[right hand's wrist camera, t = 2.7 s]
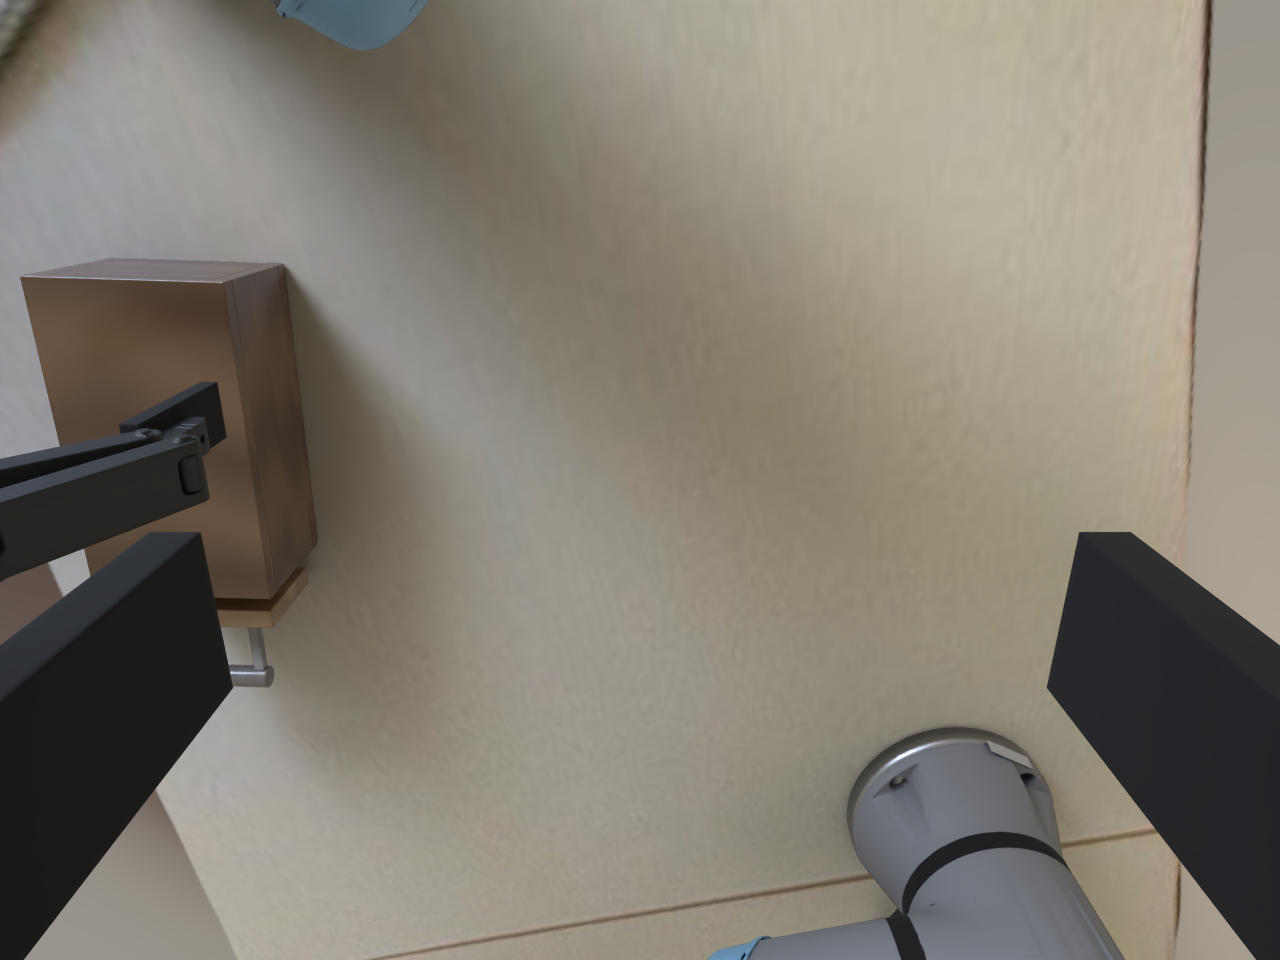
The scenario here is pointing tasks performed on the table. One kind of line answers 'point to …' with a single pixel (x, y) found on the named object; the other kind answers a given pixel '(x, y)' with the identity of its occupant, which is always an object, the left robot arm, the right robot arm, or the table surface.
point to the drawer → (258, 626)
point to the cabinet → (172, 362)
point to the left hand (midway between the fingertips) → (68, 406)
